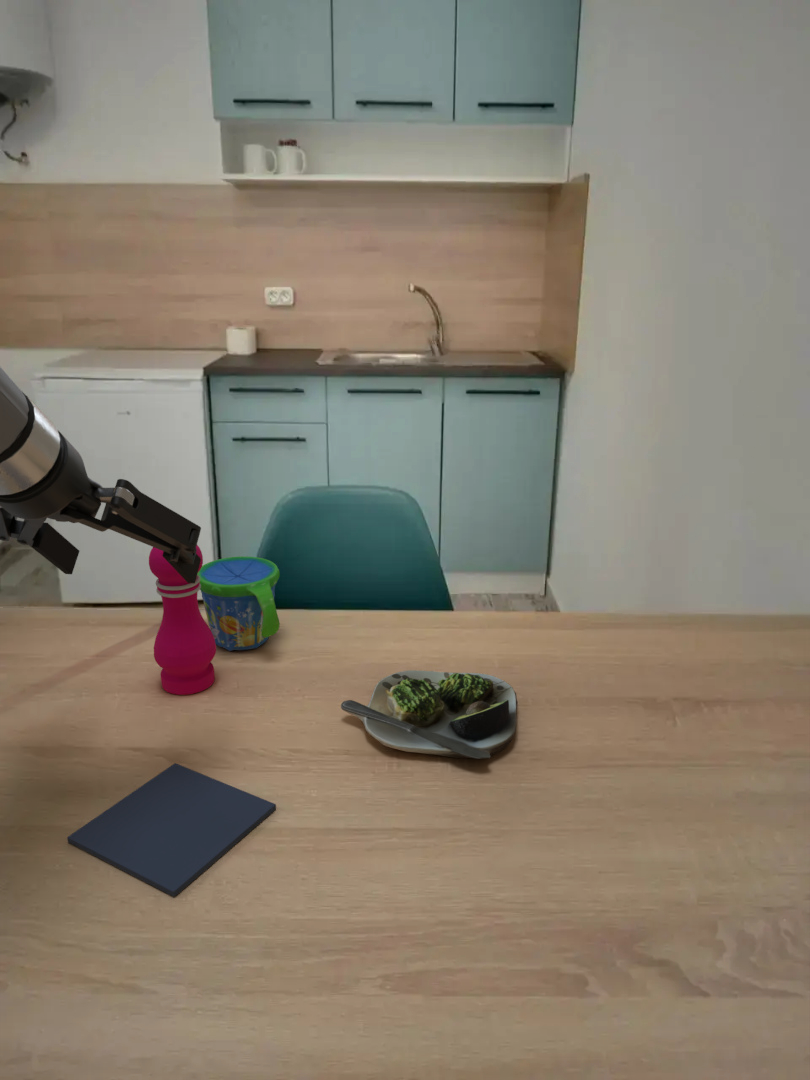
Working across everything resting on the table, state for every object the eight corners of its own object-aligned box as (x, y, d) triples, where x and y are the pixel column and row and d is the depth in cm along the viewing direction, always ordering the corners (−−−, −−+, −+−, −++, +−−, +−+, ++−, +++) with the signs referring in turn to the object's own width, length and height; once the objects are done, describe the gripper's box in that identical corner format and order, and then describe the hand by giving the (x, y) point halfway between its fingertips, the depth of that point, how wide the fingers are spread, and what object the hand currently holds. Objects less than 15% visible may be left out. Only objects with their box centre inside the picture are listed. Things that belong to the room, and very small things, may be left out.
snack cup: (304, 652, 108) (301, 579, 104) (229, 674, 102) (223, 598, 99) (253, 611, 120) (249, 545, 117) (183, 629, 114) (176, 560, 111)
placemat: (67, 842, 73) (66, 837, 73) (175, 767, 84) (175, 762, 84) (174, 897, 67) (173, 891, 67) (276, 809, 78) (276, 803, 77)
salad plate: (324, 760, 85) (322, 720, 83) (359, 676, 102) (358, 642, 100) (514, 777, 82) (516, 736, 81) (518, 687, 99) (520, 653, 97)
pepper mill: (157, 701, 96) (138, 539, 89) (157, 672, 103) (139, 519, 96) (221, 692, 98) (207, 532, 91) (216, 664, 105) (203, 513, 98)
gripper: (-135, 491, 67) (11, 591, 86) (151, 507, 63) (239, 609, 81) (-99, 414, 70) (34, 527, 89) (176, 424, 66) (255, 541, 85)
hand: (132, 566), depth 85 cm, fingers open, 13 cm apart
